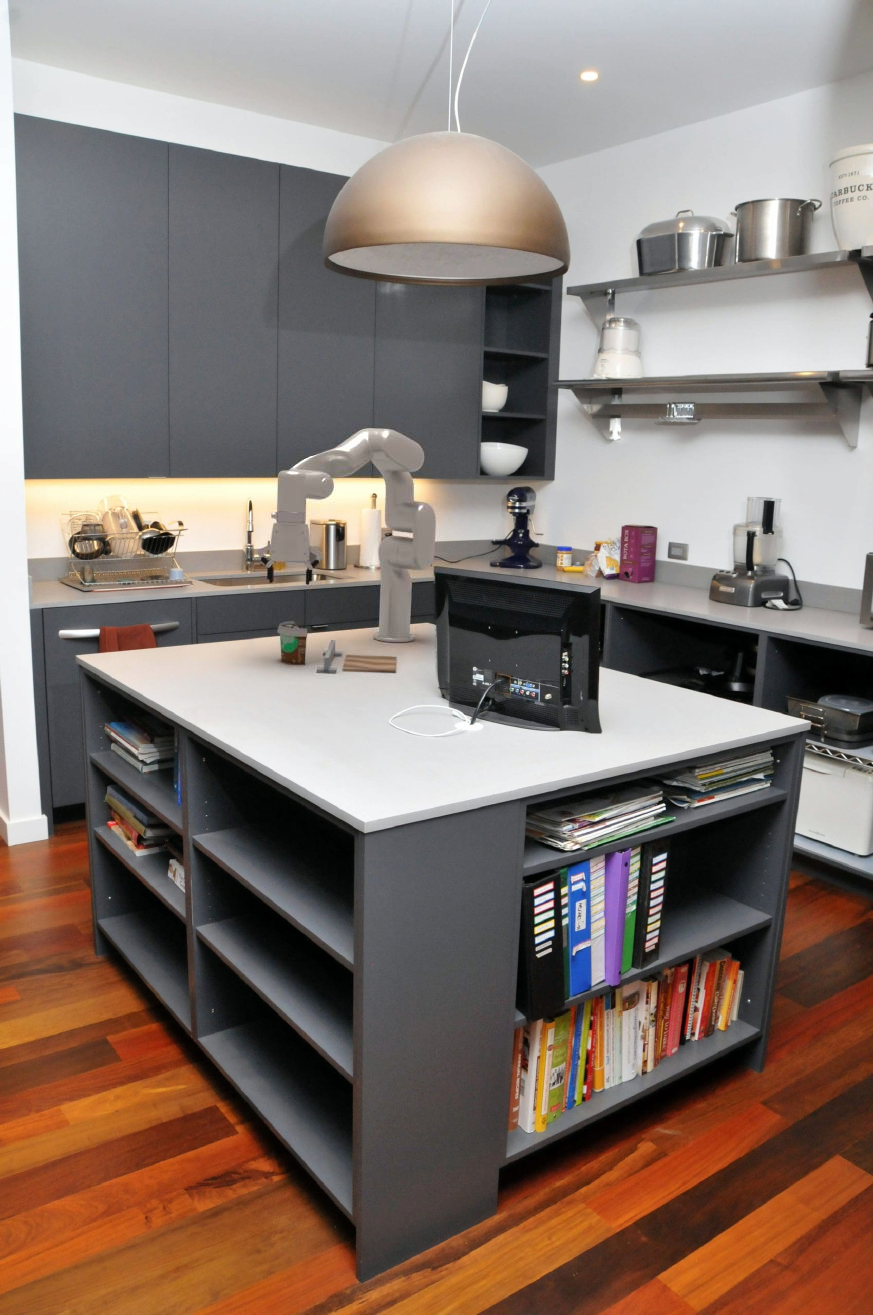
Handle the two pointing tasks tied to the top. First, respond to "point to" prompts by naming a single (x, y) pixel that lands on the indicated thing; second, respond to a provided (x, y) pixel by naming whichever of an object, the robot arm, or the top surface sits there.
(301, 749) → the top surface
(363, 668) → the walnut board
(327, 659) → the grey footed rail
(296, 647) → the food container
